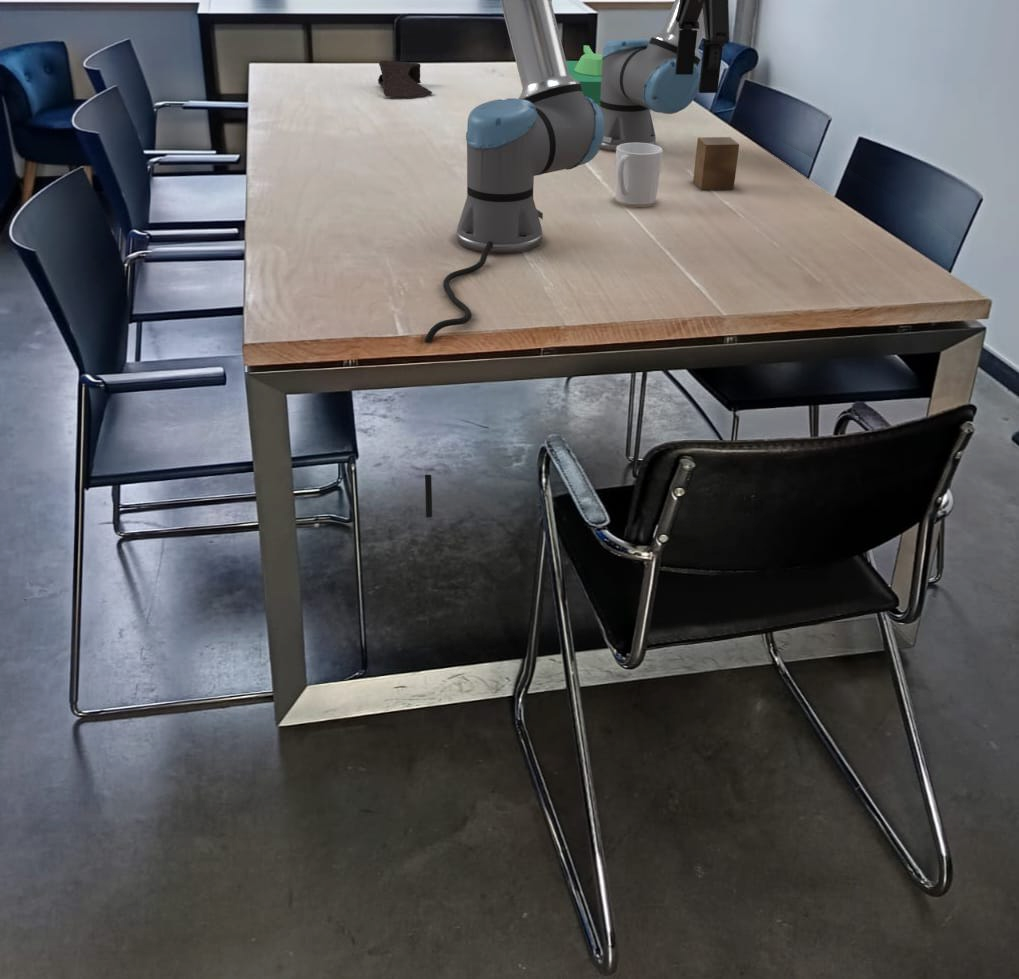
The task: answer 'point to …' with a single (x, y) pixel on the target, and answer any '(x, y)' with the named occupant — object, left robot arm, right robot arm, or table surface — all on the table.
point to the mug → (637, 174)
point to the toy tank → (588, 73)
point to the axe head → (401, 79)
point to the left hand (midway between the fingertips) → (695, 83)
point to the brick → (715, 163)
